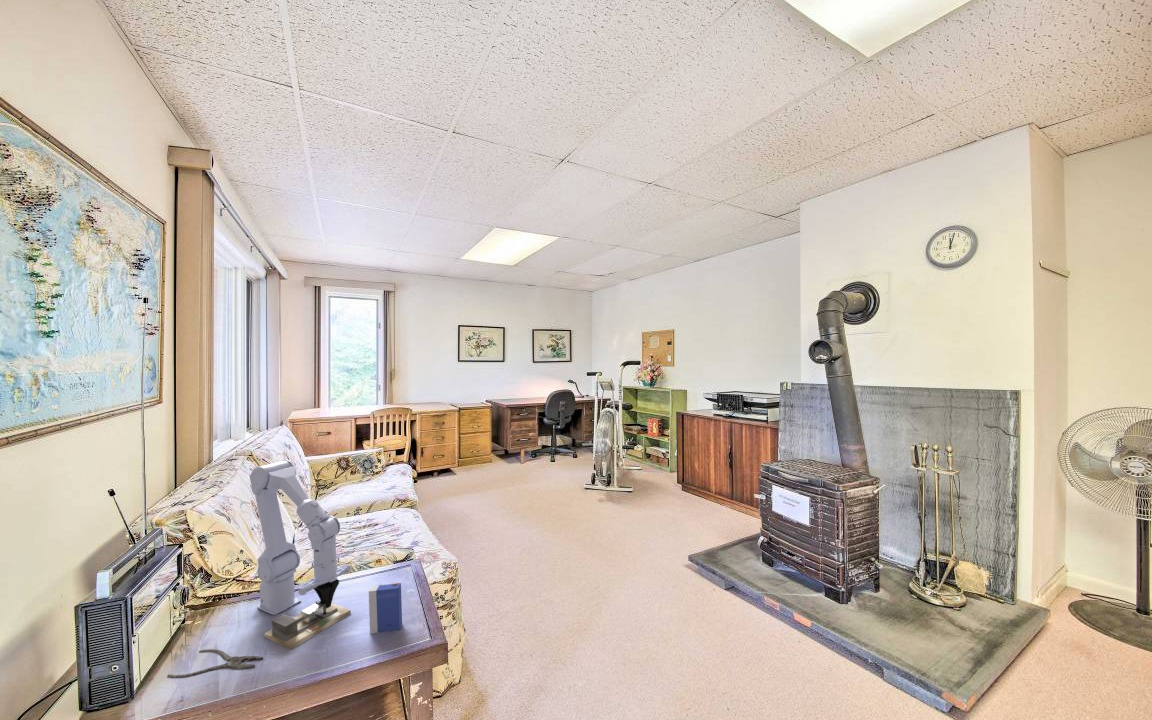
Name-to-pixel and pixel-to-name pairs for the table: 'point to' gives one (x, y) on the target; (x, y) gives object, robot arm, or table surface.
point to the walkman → (385, 608)
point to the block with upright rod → (314, 612)
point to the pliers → (232, 663)
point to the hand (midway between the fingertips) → (326, 606)
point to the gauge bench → (303, 626)
